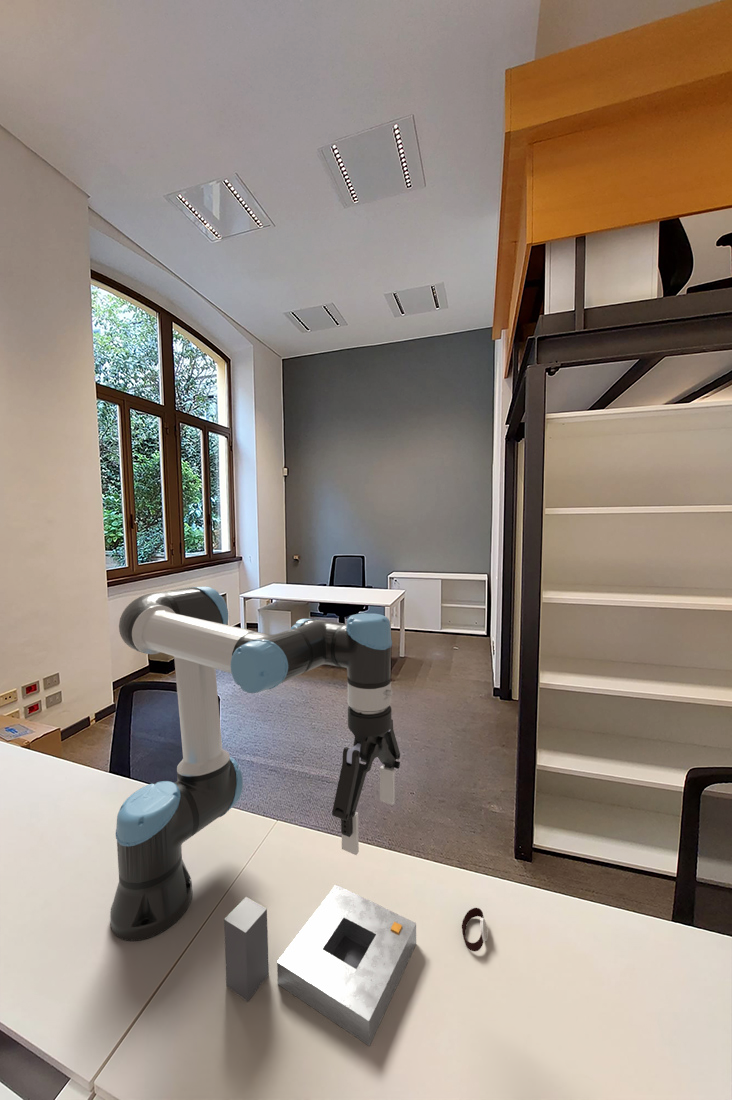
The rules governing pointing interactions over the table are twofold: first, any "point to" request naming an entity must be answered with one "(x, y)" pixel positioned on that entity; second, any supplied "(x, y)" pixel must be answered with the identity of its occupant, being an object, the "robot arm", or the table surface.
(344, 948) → the socket
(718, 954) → the table surface
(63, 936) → the table surface
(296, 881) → the table surface
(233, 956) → the plug
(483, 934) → the watch
